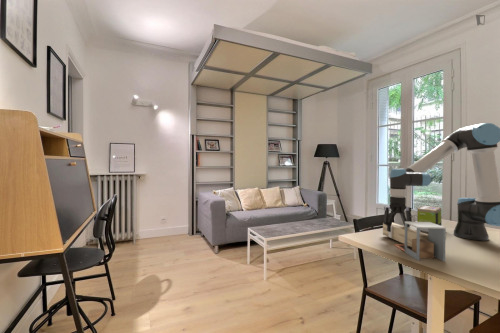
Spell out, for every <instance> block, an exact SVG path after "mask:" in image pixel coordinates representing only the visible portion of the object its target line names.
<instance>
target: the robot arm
mask: <svg viewBox="0 0 500 333" xmlns="http://www.w3.org/2000/svg"><path fill="white" fill-rule="evenodd" d="M499 142H500V127H499V126H498V125H496V124H494V123H491V122H483V123H482V122H481V123H477V124H473V125H469V126H467V125H466V126H462V127H460V128H458V129H457V130H455V131H454V132H452V133H450V134H449V135H448V136H446V137H444V139H442V140H441V142H440V143H439V144H438V145H437V146H435V147H434V148H433V149H431V150H430V151H428V152H427V153H426V154H425V155H423V156H422V157H420V158H419V159H418V160H416V161H415V162H414V163H412V164H411V165H409V166H408V167H406V168H392V169H390V172H389V203H390V204H389V206H384V207H383V208H384V214H383V222H382V224H383V223H384V224H385V225H387V231H388V232H389V237H388V238H390V239H392V234H393V227H392V226H391V224H392V222H393V221H394V220H395V215H396V213H399V214H400V215H401V218H402V221H403V224H404V227H405V221H407V222H413V220H412V216H411V214H412V210H413V209H412V207H410V206H406V203H407V199H406V195H407V187H428V186H430V184H431V183H432V176H431V174H429V172H427V171H428V170H430V169H431V168H432V167H434V166H435V165H436V164H438V163H439V162H441V161H442V160H443V159H445V158H446V157H448V156H450V155H451V154H452V153H457V152H458V151H459V150H461V149H465V148H466V150H467V152H468V153H470V154H471V157H472V164H473V170H474V177H475V184H476V190H477V191H476V192H477V197H459V198H458V199H457V222H456V225H455V226H454V229H453V236H456V237H458V238H461V239H467V240H474V241H489V240H488V239H489V237H490V235H489V234H488V232H487V228H486V226H485V225H486V224H487V225H489V226H493V227H494V226H495V227H500V182H499V176H498V175H499V174H498V169H497V168H498V167H497V163H496V156H495V151H496V149H497V148H498V143H499ZM404 210H406V217H407V220H406V217H405V213H404ZM393 223H394V222H393ZM409 226H410V227H412V225H409V224H407V228H408V227H409Z"/></svg>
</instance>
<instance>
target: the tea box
mask: <svg viewBox="0 0 500 333" xmlns="http://www.w3.org/2000/svg"><path fill="white" fill-rule="evenodd" d="M416 211H417V212H416V213H417V218H416V219H417V221H416V222H431V223H434V224H437V225H440V226H443V224H442V207H441V206H440V207H438V206H429V205H423V206H421V207H418V208H417V210H416ZM421 231H422V232H427V233H428V228H420V232H421Z"/></svg>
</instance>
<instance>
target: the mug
mask: <svg viewBox="0 0 500 333" xmlns="http://www.w3.org/2000/svg"><path fill="white" fill-rule="evenodd" d="M404 213H405V217H406V209H405V210H404ZM411 218H413V220H412V222H416V217H415V215H414V214H413V213H411ZM406 220H407V217H406ZM394 223H396V224H399V225H402V226H404V224H403V221H402V218H401V215H400V214H399V213H396V215H395V217H394ZM408 228H410V229H411V226H409V227H408Z"/></svg>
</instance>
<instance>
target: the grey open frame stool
mask: <svg viewBox="0 0 500 333" xmlns="http://www.w3.org/2000/svg"><path fill="white" fill-rule="evenodd" d="M407 224H409V225H411V227H414V228H416V231H417V253H415V252H414V251H412V247H410V246H408V245H407ZM420 228H428V232H427V234H428V241H430V242H432V243H434V258H436V259H438V260H440V261H442V262H446V233H447V232H446V231H447V230H446V228H447V227H445V226H443V225H442V226H440V225H437V224H434V223H431V222H417V221H415V222H413V221H412V222H407V221H405V244H403V243H400V244H399V243H397V244H396V243H394V246H395V247H396V248H397V249H399V250H400V251H402V252H404V253H406V254H407V255H408V256H410V257H411V258H413V259H414V260H416V261H419V262H420V261H421V260H420V259H421V258H420V232H421V230H420Z"/></svg>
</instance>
